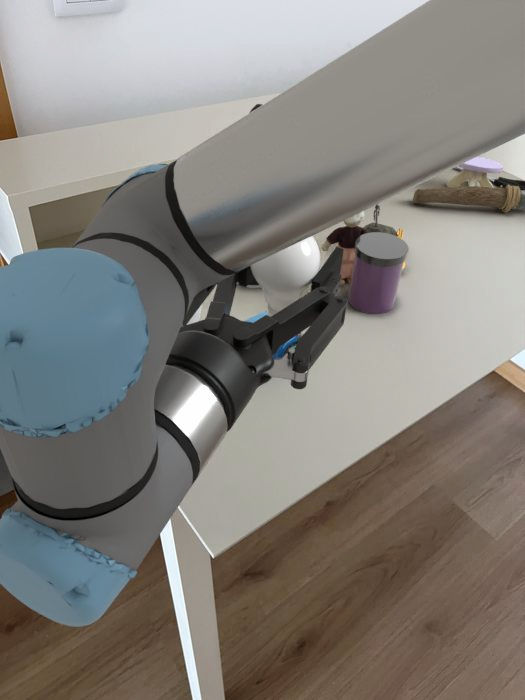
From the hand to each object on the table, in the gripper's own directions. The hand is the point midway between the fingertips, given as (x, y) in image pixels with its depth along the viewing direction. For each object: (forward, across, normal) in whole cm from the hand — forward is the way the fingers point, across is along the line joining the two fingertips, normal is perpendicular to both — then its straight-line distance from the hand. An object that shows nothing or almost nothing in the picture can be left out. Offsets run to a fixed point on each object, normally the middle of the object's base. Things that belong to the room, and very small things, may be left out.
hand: (304, 251), depth 57 cm
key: (+36, +3, -18) cm, 40 cm away
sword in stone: (+37, 0, -20) cm, 42 cm away
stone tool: (+57, +1, -17) cm, 60 cm away
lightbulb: (-5, 0, -6) cm, 8 cm away
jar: (+24, +3, -20) cm, 31 cm away
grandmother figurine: (+27, -2, -20) cm, 34 cm away
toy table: (+69, +10, -20) cm, 73 cm away
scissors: (+79, +4, -19) cm, 82 cm away
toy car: (+4, -6, -20) cm, 21 cm away
